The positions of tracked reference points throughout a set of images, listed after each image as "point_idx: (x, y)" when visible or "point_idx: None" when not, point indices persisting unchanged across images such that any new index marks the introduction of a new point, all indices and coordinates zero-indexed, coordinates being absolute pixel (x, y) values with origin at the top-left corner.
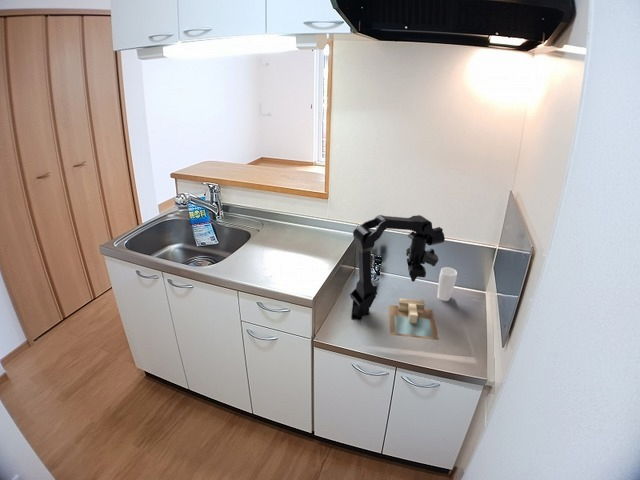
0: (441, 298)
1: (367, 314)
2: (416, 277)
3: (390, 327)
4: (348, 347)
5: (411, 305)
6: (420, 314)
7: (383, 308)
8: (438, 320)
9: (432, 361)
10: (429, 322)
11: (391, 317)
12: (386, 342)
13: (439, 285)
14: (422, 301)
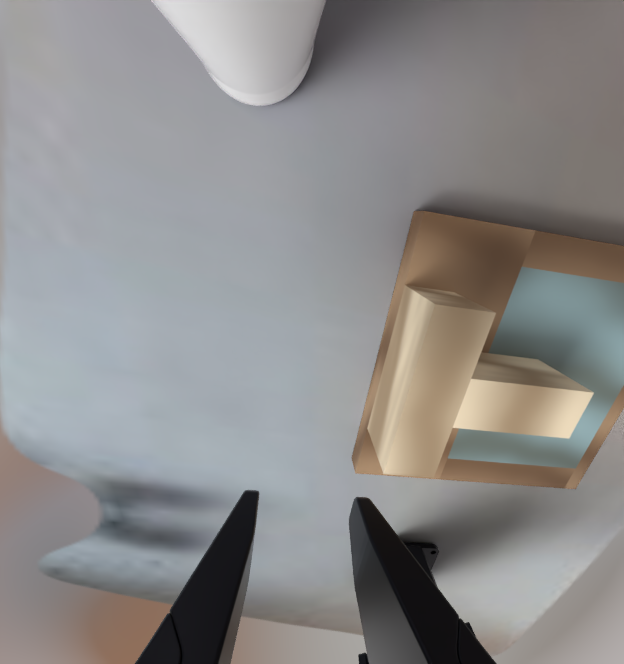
0: (304, 65)
1: (425, 561)
2: (433, 584)
3: (532, 483)
4: (563, 591)
5: (478, 413)
6: None
7: (355, 478)
8: (504, 186)
9: None
10: (552, 275)
11: (461, 472)
12: (583, 487)
13: (256, 34)
14: (443, 320)
